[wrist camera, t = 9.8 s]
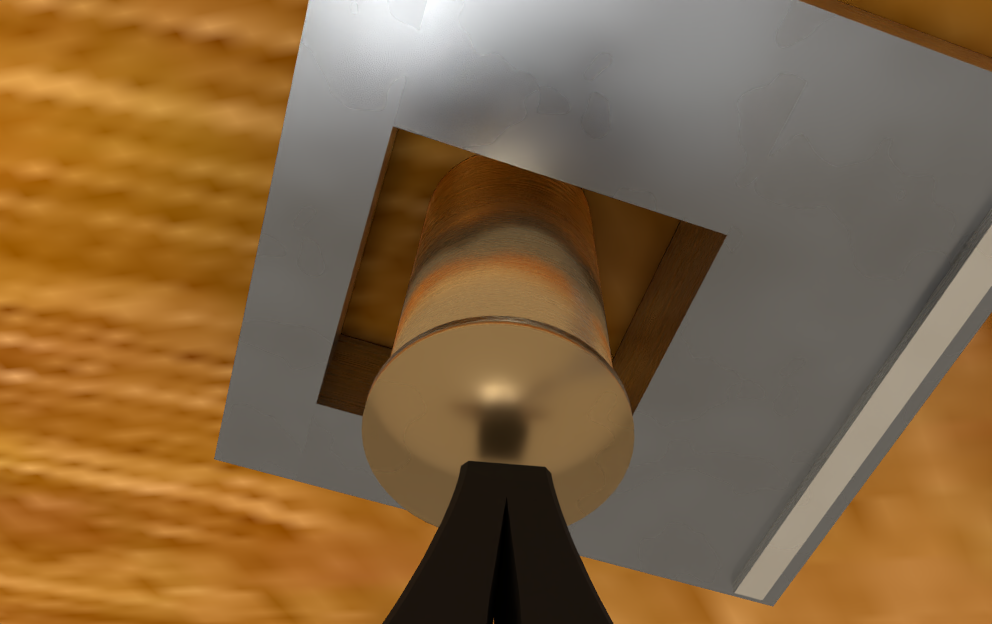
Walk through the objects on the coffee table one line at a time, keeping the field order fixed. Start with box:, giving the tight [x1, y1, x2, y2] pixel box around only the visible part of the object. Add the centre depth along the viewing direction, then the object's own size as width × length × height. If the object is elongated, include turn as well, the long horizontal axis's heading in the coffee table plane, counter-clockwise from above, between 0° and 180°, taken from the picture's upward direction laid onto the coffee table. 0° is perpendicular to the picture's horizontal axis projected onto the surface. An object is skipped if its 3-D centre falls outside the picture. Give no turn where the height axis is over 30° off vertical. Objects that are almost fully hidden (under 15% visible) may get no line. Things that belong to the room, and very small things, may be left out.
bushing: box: [362, 154, 635, 527], centre depth 17 cm, size 4×4×8 cm
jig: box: [214, 0, 992, 606], centre depth 19 cm, size 15×14×3 cm
